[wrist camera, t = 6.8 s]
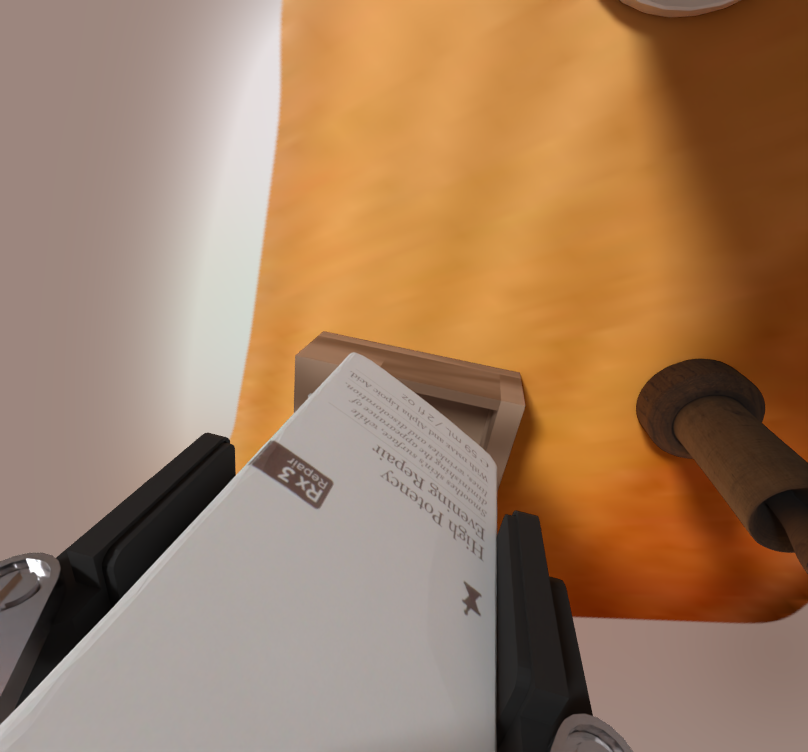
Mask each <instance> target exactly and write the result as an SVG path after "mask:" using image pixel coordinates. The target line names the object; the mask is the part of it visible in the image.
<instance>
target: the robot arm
mask: <svg viewBox="0 0 808 752" xmlns="http://www.w3.org/2000/svg"><path fill="white" fill-rule="evenodd" d="M620 1H621V2H622V3H624V4H626V5H628V6H630V7H633V8H635V9H637V10H639V11H641V12H644V13H647V14H653V15H659V16H665V17H684V16H697V15H701V14H705V13H708V12H712V11H716V10H720V9H723V8H726V7H728V6H730V5H733V4H735V3H737V2H739V1H741V0H620ZM235 476H236V474H235V448H234V445H232V444H230V440H229V439H228V438H226V437H223V436H219V435H215V434H211V433H205V434H203V435H202V436H201V437H199V438H198V439H197V440H196V441H195V442H194V443H192V444H191V445H190V446H189V447H187V448H186V449H185V450H184V451H183V452H182V453H180V454H179V455H178V456H177V457H176V458H174V459H173V460H172V461H171V462H170V463H168V464H167V465H166V466H165V467H164V468H163V469H161V470H160V471H159V472H158V473H157V474H155V475H154V476H153V477H152V478H150V479H149V480H148V481H147V482H146V483H144V484H143V485H142V486H141V487H140V488H138V489H137V490H136V491H135V492H134V493H133V494H131V495H130V496H129V497H128V498H127V499H125V500H124V501H123V502H122V503H121V504H119V505H118V506H117V507H116V508H115V509H114V510H112V511H111V512H110V513H109V514H108V515H106V516H105V517H104V518H103V519H102V520H100V521H99V522H98V523H97V524H96V525H95V526H93V527H92V528H91V529H90V530H89V531H87V532H86V533H85V534H84V535H83V536H82V537H80V538H79V539H78V540H77V541H76V542H74V543H73V544H72V545H71V546H70V547H68V548H67V549H66V550H65V551H64V552H62V553H61V554H60V555H59V556H58V557H57V558H55V557H53V556H52V555H49V554H45V553H27V554H22V555H17V556H13V557H11V558H8V559H5V560H3V561H0V725H1V724H2V723H3V722H4V721H5V720H6V719H7V718H8V716H9V715H10V714H11V713H12V712H13V711H14V710H15V709H16V708H17V707H18V706H19V705H20V704H21V703H22V702H23V701H24V700H25V699H26V698H27V697H28V696H29V695H30V694H31V693H32V692H33V691H34V690H35V689H36V687H37V686H38V685H39V684H40V683H41V682H42V681H43V680H44V679H45V678H46V677H47V676H48V675H49V674H50V673H51V672H52V671H53V669H54V668H55V667H56V666H57V665H58V664H59V663H60V662H61V661H62V660H63V659H64V658H65V657H66V656H67V655H68V654H69V653H70V652H71V651H72V649H73V648H74V647H75V646H76V645H77V644H78V643H79V642H80V641H81V640H82V639H83V638H84V637H85V636H86V635H87V634H88V633H89V632H90V631H91V630H92V629H93V628H94V627H95V626H96V625H97V624H98V623H99V621H100V620H101V619H102V618H103V617H104V616H105V615H106V614H107V613H108V612H109V611H110V610H111V609H112V608H113V607H114V606H115V605H116V604H117V603H118V601H119V600H120V599H121V598H122V597H123V596H124V595H125V594H126V593H127V592H128V591H129V590H130V589H131V587H132V586H133V585H134V584H135V583H136V582H137V581H138V580H139V579H140V578H141V577H142V576H143V575H144V574H145V572H146V571H147V570H148V569H149V568H150V567H151V566H152V565H153V564H154V563H155V562H156V561H157V560H158V559H159V557H160V556H161V555H162V554H163V553H164V552H165V551H166V550H167V549H168V548H169V547H170V546H171V545H172V544H173V542H174V541H175V540H176V539H177V538H178V537H179V536H180V535H181V534H182V533H183V532H184V531H185V530H186V529H187V528H188V526H189V525H190V524H191V523H192V522H193V521H194V520H195V519H196V518H197V517H198V516H199V515H200V514H201V513H202V511H203V510H204V509H205V508H206V507H207V506H208V505H209V504H210V503H211V502H212V501H213V500H214V499H215V498H216V496H217V495H218V494H219V493H220V492H221V491H222V490H223V489H224V488H225V487H226V486H227V485H228V484H229V482H230V481H231V480H232V479H233V478H234V477H235ZM496 738H497V752H633V751H632V749H631V748H630V747H629V745H628V744H627V742H626V741H625V740H624V738H623V737H622V736H621V735H620V734H618V733H617V732H616V731H615V730H614V729H613V728H612V727H611V726H610V725H608V724H607V723H605V722H603V721H602V720H600V719H599V718H597V717H594V716H593V714H592V710H591V705H590V700H589V695H588V691H587V685H586V681H585V676H584V671H583V666H582V661H581V657H580V652H579V647H578V642H577V638H576V632H575V628H574V623H573V618H572V613H571V608H570V604H569V599H568V594H567V590H566V586H565V584H564V582H563V581H562V580H560V579H557V578H553V577H549V574H548V568H547V562H546V556H545V550H544V544H543V538H542V532H541V527H540V521H539V517H538V516H535V515H532V514H528V513H524V512H520V511H514V512H513V514H512V516H511V515H507V514H506V515H505V516H504V518H503V521H502V524H501V527H500V530H499V532H498V535H497V697H496Z"/></svg>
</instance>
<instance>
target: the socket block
mask: <svg viewBox="0 0 808 752" xmlns="http://www.w3.org/2000/svg"><path fill="white" fill-rule="evenodd" d="M353 352H354V353H358V354H360V355H363V356H364V357H366V358H368V359H369V360H371V361H373V362H374V363H375V364H377V365H378V366H380V367H381V368H382V369H384V370H385V371H387V372H388V373H389V374H390V375H392V376H393V377H394V378H396V379H397V380H398V381H400V382H401V383H402V384H404V385H405V386H406V387H408V388H409V389H410V390H412V391H413V392H415V393H416V394H417V395H418V396H420V397H421V398H422V399H423V400H425V401H426V402H427V403H429V404H430V405H431V406H432V407H434V408H435V409H436V410H437V411H439V412H440V413H441V414H442V415H444V416H445V417H446V418H447V419H449V420H450V421H451V422H452V423H453V424H455V425H456V426H457V427H458V428H459V429H461V430H462V431H463V432H464V433H465V434H466V435H467V436H469V437H470V438H471V439H472V440H473V441H475V442H476V443H477V444H478V445H479V446H480V447H482V448H483V449H484V450H485V451H486V452H487V453H488V454H489V455H490V456H491V457H492V459H493V460H494V462H495V464H496V465H497V491H498V488H499V485H500V482H501V479H502V476H503V473H504V470H505V467H506V464H507V461H508V458H509V455H510V452H511V449H512V446H513V442H514V439H515V436H516V433H517V430H518V427H519V424H520V421H521V418H522V415H523V412H524V409H525V400H524V394H523V389H522V383H521V377H520V373H518V372H513V371H509V370H504V369H499V368H495V367H490V366H485V365H480V364H476V363H471V362H466V361H461V360H457V359H452V358H447V357H442V356H438V355H433V354H428V353H424V352H419V351H414V350H409V349H405V348H400V347H395V346H390V345H386V344H381V343H376V342H371V341H367V340H362V339H357V338H353V337H348V336H343V335H338V334H334V333H329V332H324V331H323V332H322V333H321V334H320V335H319V336H318V337H316V338H315V339H314V340H313V341H312V342H311V343H309V344H308V345H307V346H306V347H305V348H304V349H302V350H301V351H300V352H299V353H298V354H297V355H295V390H294V413H295V412H296V411H297V410H298V409H299V408H300V406H301V405H302V404H303V403H304V402H305V401H306V400H307V399H308V398H309V397H310V396H311V395H312V394H313V393H314V392H315V391H316V389H317V388H318V387H319V386H320V385H321V384H322V383H323V382H324V381H325V380H326V379H327V378H328V377H329V376H330V375H331V374H332V372H333V371H334V370H335V369H336V368H337V367H338V366H339V365H340V364H341V363H342V362H343V361H344V360H345V358H346V357H347V356H348V355H349V354H351V353H353Z"/></svg>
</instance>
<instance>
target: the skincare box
mask: <svg viewBox="0 0 808 752" xmlns="http://www.w3.org/2000/svg"><path fill="white" fill-rule="evenodd" d="M496 697H497V465H496V464H495V462H494V460H493V459H492V457H491V456H490V455H489V454H488V453H487V452H486V451H485V450H484V449H483V448H482V447H480V446H479V445H478V444H477V443H476V442H475V441H473V440H472V439H471V438H470V437H469V436H467V435H466V434H465V433H464V432H463V431H462V430H461V429H459V428H458V427H457V426H456V425H455V424H453V423H452V422H451V421H450V420H449V419H447V418H446V417H445V416H444V415H442V414H441V413H440V412H439V411H437V410H436V409H435V408H434V407H432V406H431V405H430V404H429V403H427V402H426V401H425V400H423V399H422V398H421V397H420V396H418V395H417V394H416V393H415V392H413V391H412V390H410V389H409V388H408V387H406V386H405V385H404V384H402V383H401V382H400V381H398V380H397V379H396V378H394V377H393V376H392V375H390V374H389V373H388V372H387V371H385V370H384V369H382V368H381V367H380V366H378V365H377V364H375V363H374V362H373V361H371V360H369V359H368V358H366V357H364V356H363V355H360V354H358V353H354V352H353V353H351V354H349V355H348V356H347V357H346V358H345V360H344V361H343V362H342V363H341V364H340V365H339V366H338V367H337V368H336V369H335V370H334V371H333V372H332V374H331V375H330V376H329V377H328V378H327V379H326V380H325V381H324V382H323V383H322V384H321V385H320V386H319V387H318V388H317V389H316V391H315V392H314V393H313V394H312V395H311V396H310V397H309V398H308V399H307V400H306V401H305V402H304V403H303V404H302V405H301V406H300V408H299V409H298V410H297V411H296V412H295V413H294V414H293V415H292V416H291V417H290V418H289V419H288V420H287V421H286V422H285V423H284V424H283V426H282V427H281V428H280V429H279V430H278V431H277V432H276V433H275V434H274V435H273V437H272V438H271V439H270V440H269V441H268V442H267V443H266V444H265V445H264V446H263V447H262V448H261V449H260V450H259V451H258V452H257V453H256V454H255V455H254V456H253V458H252V459H251V460H250V461H249V462H248V463H247V464H246V465H245V466H244V467H243V468H242V469H241V471H240V472H239V473H238V474H237V475H236V476H235V477H234V478H233V479H232V480H231V481H230V482H229V484H228V485H227V486H226V487H225V488H224V489H223V490H222V491H221V492H220V493H219V494H218V495H217V496H216V498H215V499H214V500H213V501H212V502H211V503H210V504H209V505H208V506H207V507H206V508H205V509H204V510H203V511H202V513H201V514H200V515H199V516H198V517H197V518H196V519H195V520H194V521H193V522H192V523H191V524H190V525H189V526H188V528H187V529H186V530H185V531H184V532H183V533H182V534H181V535H180V536H179V537H178V538H177V539H176V540H175V541H174V542H173V544H172V545H171V546H170V547H169V548H168V549H167V550H166V551H165V552H164V553H163V554H162V555H161V556H160V557H159V559H158V560H157V561H156V562H155V563H154V564H153V565H152V566H151V567H150V568H149V569H148V570H147V571H146V572H145V574H144V575H143V576H142V577H141V578H140V579H139V580H138V581H137V582H136V583H135V584H134V585H133V586H132V587H131V589H130V590H129V591H128V592H127V593H126V594H125V595H124V596H123V597H122V598H121V599H120V600H119V601H118V603H117V604H116V605H115V606H114V607H113V608H112V609H111V610H110V611H109V612H108V613H107V614H106V615H105V616H104V617H103V618H102V619H101V620H100V621H99V623H98V624H97V625H96V626H95V627H94V628H93V629H92V630H91V631H90V632H89V633H88V634H87V635H86V636H85V637H84V638H83V639H82V640H81V641H80V642H79V643H78V644H77V645H76V646H75V647H74V648H73V649H72V651H71V652H70V653H69V654H68V655H67V656H66V657H65V658H64V659H63V660H62V661H61V662H60V663H59V664H58V665H57V666H56V667H55V668H54V669H53V671H52V672H51V673H50V674H49V675H48V676H47V677H46V678H45V679H44V680H43V681H42V682H41V683H40V684H39V685H38V686H37V687H36V689H35V690H34V691H33V692H32V693H31V694H30V695H29V696H28V697H27V698H26V699H25V700H24V701H23V702H22V703H21V704H20V705H19V706H18V707H17V708H16V709H15V710H14V711H13V712H12V713H11V714H10V715H9V716H8V718H7V719H6V720H5V721H4V722H3V723H2V724H1V725H0V752H497V738H496Z"/></svg>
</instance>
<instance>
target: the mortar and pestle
mask: <svg viewBox="0 0 808 752" xmlns="http://www.w3.org/2000/svg"><path fill="white" fill-rule="evenodd" d="M636 411H637V416H638V419H639V421H640V423H641V425H642V426H643V428H644V429H645V431H646V432H647V433H648V435H649V436H650V438H651V439H652V441H653V442H654V443H655V444H656V445H657V446H658V447H659V448H661V449H662V450H664V451H665V452H667V453H670V454H672V455H675V456H678V457H683V458H690V459H694V460H695V461H696V463H697V464H698V465H699V466H700V468H701V469H702V470H703V472H704V473H705V474H706V475H707V477H708V478H709V479H710V481H711V482H712V483H713V485H714V486H715V487H716V489H717V490H718V491H719V493H720V494H721V495H722V497H723V498H724V499H725V501H726V502H727V503H728V505H729V506H730V507H731V509H732V510H733V512H734V513H735V514H736V516H737V517H738V518H739V520H740V521H741V523H742V524H743V525H744V527H745V528H746V529H747V531H748V532H749V533H750V535H751V536H752V537H753V538H754V540H755V541H756V542H757V543H759V544H760V545H762V546H764V547H766V548H769V549H771V550H775V551H779V552H788V553H796V555H797V558H798V559H799V561H800V563H801V565H802V566H803V568H804V569H805V571H806V572H807V574H808V463H807V462H806V461H805V460H804V459H803V458H802V457H800V456H799V455H798V454H797V453H796V452H795V451H793V450H792V449H791V448H790V447H789V446H788V445H786V444H785V443H784V442H783V441H782V440H781V439H779V438H778V437H777V436H776V435H775V434H774V433H772V432H771V431H770V430H769V429H768V428H767V427H766V426H765V425H763V424H762V421H763V418H764V414H765V402H764V399H763V396H762V394H761V392H760V391H759V389H758V388H757V387H756V386H755V385H754V384H753V383H752V382H751V381H750V380H748V379H747V378H746V377H744V376H743V375H742V374H741V373H739V372H738V371H737V370H735V369H734V368H732V367H731V366H729V365H727V364H725V363H722V362H719V361H716V360H710V359H692V360H686V361H683V362H680V363H677V364H674V365H671V366H669V367H667V368H665V369H663V370H661V371H660V372H658V373H657V374H655V375H654V376H653V377H652V378H651V379H650V380H649V381H648V382H647V383H646V384H645V386H644V387H643V389H642V390H641V392H640V394H639V397H638V400H637V405H636Z"/></svg>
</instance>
